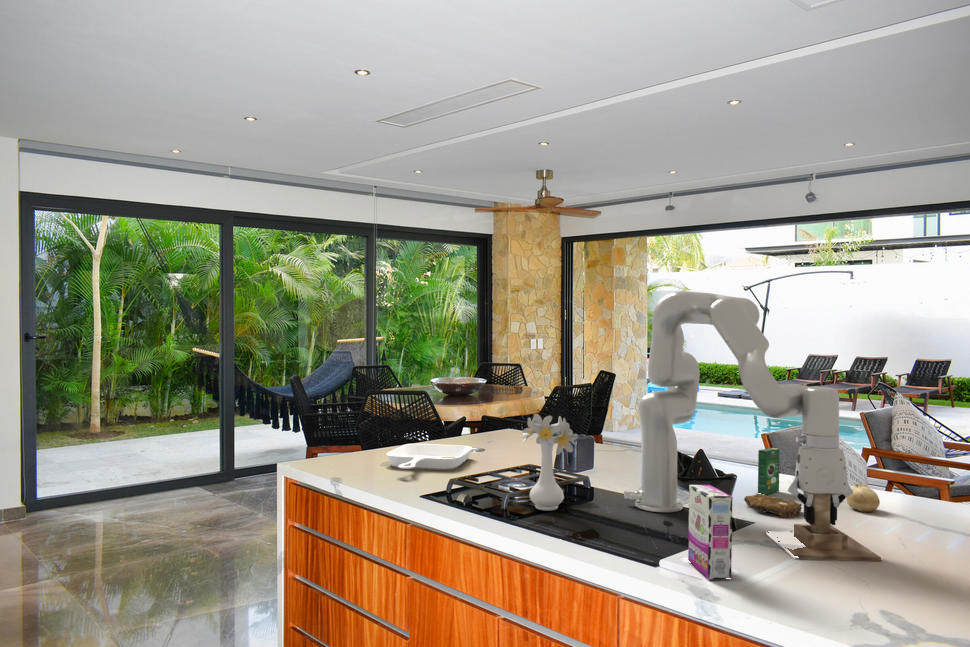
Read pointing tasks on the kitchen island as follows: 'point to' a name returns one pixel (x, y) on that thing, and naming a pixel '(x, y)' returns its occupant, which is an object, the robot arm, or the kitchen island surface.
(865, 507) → the onion
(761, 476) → the coffee box
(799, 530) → the socket block
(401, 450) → the pan
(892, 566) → the kitchen island surface
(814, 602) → the kitchen island surface
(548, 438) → the flower vase
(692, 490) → the candy bar box
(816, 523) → the peg
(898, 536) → the kitchen island surface
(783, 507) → the decorative rock
